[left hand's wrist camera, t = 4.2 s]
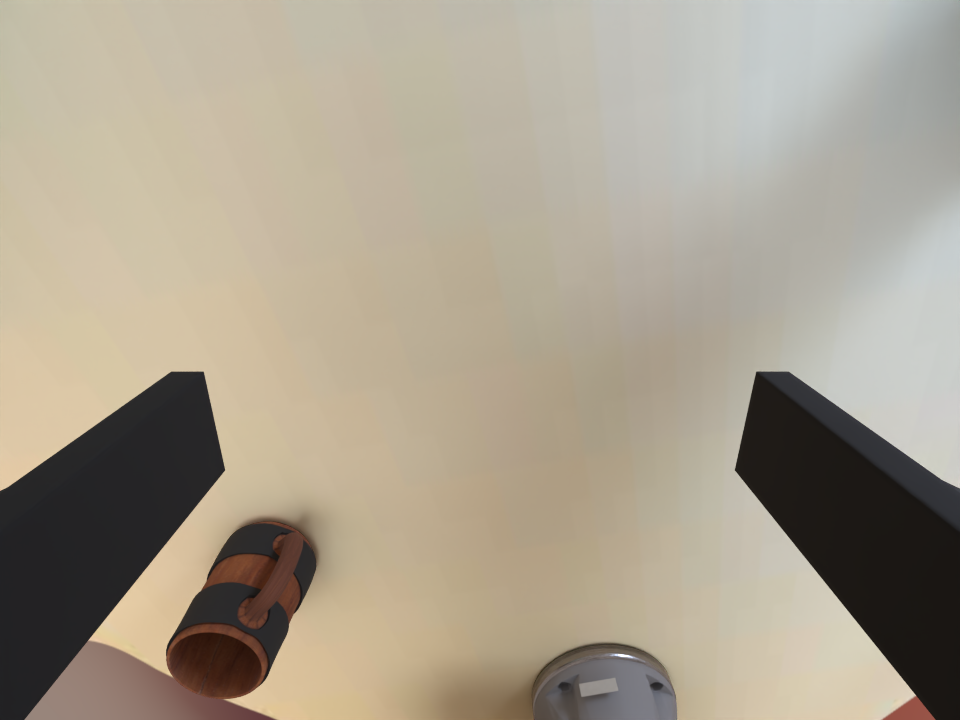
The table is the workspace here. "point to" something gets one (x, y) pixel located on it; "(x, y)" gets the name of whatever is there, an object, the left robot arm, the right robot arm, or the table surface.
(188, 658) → the mug
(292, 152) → the table surface
